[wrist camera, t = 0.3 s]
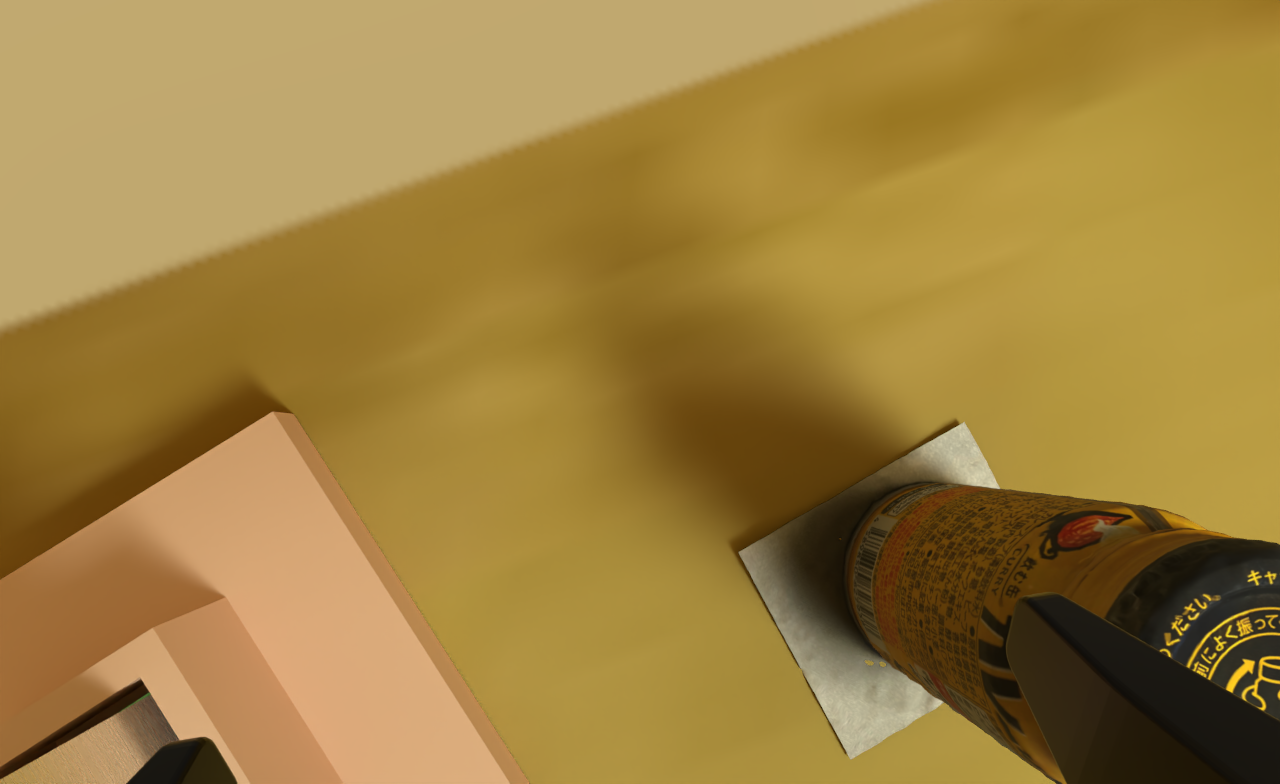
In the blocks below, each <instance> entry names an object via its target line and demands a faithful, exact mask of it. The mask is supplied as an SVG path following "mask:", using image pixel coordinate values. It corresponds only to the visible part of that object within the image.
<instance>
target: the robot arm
mask: <svg viewBox="0 0 1280 784" xmlns="http://www.w3.org/2000/svg"><path fill="white" fill-rule="evenodd" d="M1006 654H1007V659H1008V662H1009V665H1010V667H1011V670H1012V672H1013V674H1014V676H1015V678H1016V680H1017V682H1018V684H1019V686H1020V688H1021V691H1022V693H1023V695H1024V697H1025V699H1026V701H1027V703H1028V705H1029V707H1030V709H1031V711H1032V713H1033V716H1034V718H1035V720H1036V722H1037V724H1038V726H1039V728H1040V730H1041V732H1042V734H1043V736H1044V739H1045V741H1046V743H1047V745H1048V747H1049V749H1050V751H1051V753H1052V755H1053V757H1054V759H1055V761H1056V764H1057V766H1058V768H1059V770H1060V772H1061V774H1062V776H1063V778H1064V780H1065V782H1066V784H1280V720H1278V719H1277V718H1275V717H1273V716H1271V715H1270V714H1268V713H1266V712H1265V711H1263V710H1261V709H1259V708H1258V707H1256V706H1254V705H1252V704H1251V703H1249V702H1247V701H1245V700H1244V699H1242V698H1240V697H1238V696H1237V695H1235V694H1233V693H1232V692H1230V691H1228V690H1226V689H1225V688H1223V687H1221V686H1219V685H1218V684H1216V683H1214V682H1212V681H1211V680H1209V679H1207V678H1205V677H1204V676H1202V675H1200V674H1199V673H1197V672H1195V671H1193V670H1192V669H1190V668H1188V667H1186V666H1185V665H1183V664H1181V663H1179V662H1178V661H1176V660H1174V659H1173V658H1171V657H1169V656H1167V655H1166V654H1164V653H1162V652H1160V651H1159V650H1157V649H1155V648H1153V647H1152V646H1150V645H1148V644H1146V643H1145V642H1143V641H1141V640H1140V639H1138V638H1136V637H1134V636H1133V635H1131V634H1129V633H1127V632H1126V631H1124V630H1122V629H1120V628H1119V627H1117V626H1115V625H1114V624H1112V623H1110V622H1108V621H1107V620H1105V619H1103V618H1101V617H1100V616H1098V615H1096V614H1094V613H1093V612H1091V611H1089V610H1087V609H1086V608H1084V607H1082V606H1081V605H1079V604H1077V603H1075V602H1074V601H1072V600H1070V599H1068V598H1067V597H1065V596H1063V595H1061V594H1058V593H1055V592H1044V593H1038V594H1032V595H1027V596H1023V597H1020V598H1019V600H1018V601H1017V602H1016V604H1015V607H1014V611H1013V616H1012V620H1011V624H1010V629H1009V633H1008V637H1007V642H1006ZM126 784H238V783H237V780H236V778H235V776H234V775H233V773H232V771H231V770H230V768H229V766H228V765H227V763H226V761H225V760H224V758H223V756H222V755H221V753H220V751H219V750H218V748H217V746H216V745H215V743H214V742H213V740H211V739H209V738H207V737H196V738H190V739H184V740H178V741H174V742H170V743H168V744H166V745H164V746H163V747H162V748H160V749H159V750H158V751H157V752H156V753H155V754H154V755H153V756H152V757H151V758H150V759H149V760H148V761H147V762H146V763H145V764H144V765H143V766H142V767H141V768H140V770H139V771H138V772H137V773H136V774H135V775H134V776H133V777H132V778H131V779H130V780H129V781H128V782H127V783H126Z"/></svg>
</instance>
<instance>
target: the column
mask: <svg viewBox="0 0 1280 784" xmlns="http://www.w3.org/2000/svg"><path fill="white" fill-rule="evenodd" d="M178 740H179V738H178V737H177V735H176V734H175V732H174V730H173V729H172V727H171V726H170V724H169V722H168V721H167V719H166V718H165V716H164V714H163V713H162V711H161V710H160V708H159V706H158V705H157V703H156V702H155V700H154V698H153V697H152V695H151V694H150V692H149V693H147V694H146V695H144V696H143V697H141V698H140V699H138V700H137V701H135V702H133V703H132V704H130V705H129V706H127V707H126V708H124V709H123V710H121V711H120V712H118V713H116V714H115V715H113V716H112V717H110V718H108V719H107V720H105V721H103V722H101V723H99V724H98V725H96V726H94V727H92V728H91V729H89V730H87V731H85V732H84V733H82V734H80V735H78V736H77V737H75V738H73V739H71V740H69V741H68V742H66V743H64V744H62V745H61V746H59V747H57V748H55V749H54V750H52V751H50V752H48V753H46V754H45V755H43V756H41V757H39V758H38V759H36V760H34V761H32V762H31V763H29V764H27V765H25V766H23V767H22V768H20V769H18V770H16V771H15V772H13V773H11V774H9V775H8V776H6V777H4V778H2V779H1V780H0V784H126V783H127V782H128V781H129V780H130V779H131V778H132V777H133V776H134V775H135V774H136V773H137V772H138V771H139V770H140V768H141V767H142V766H143V765H144V764H145V763H146V762H147V761H148V760H149V759H150V758H151V757H152V756H153V755H154V754H155V753H156V752H157V751H158V750H159V749H160V748H162V747H163V746H164V745H166V744H168V743H170V742H174V741H178Z"/></svg>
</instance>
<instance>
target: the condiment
mask: <svg viewBox="0 0 1280 784" xmlns="http://www.w3.org/2000/svg"><path fill="white" fill-rule="evenodd" d="M839 538H841V539H842V540H839ZM739 555H740V556H741V558H742V560H743V562H744V564H745V566H746V568H747V570H748V571H749V573H750V574H751V577H752V579H753V581H754V583H755V585H756V587H757V588H758V590H759V592H760V594H761V596H762V598H763V600H764V601H765V603H766V605H767V607H768V609H769V611H770V612H771V614H772V616H773V618H774V620H775V622H776V624H777V626H778V628H779V629H780V631H781V633H782V635H783V636H784V638H785V640H786V642H787V644H788V646H789V648H790V650H791V651H792V653H793V655H794V657H795V659H796V661H797V662H798V664H799V666H800V668H801V669H802V672H803V674H804V676H805V678H806V679H807V681H808V683H809V684H810V686H811V688H812V690H813V692H814V693H815V695H816V697H817V699H818V701H819V703H820V704H821V706H822V708H823V710H824V712H825V714H826V716H827V718H828V719H829V721H830V723H831V724H832V726H833V728H834V730H835V732H836V734H837V736H838V737H839V739H840V741H841V743H842V745H843V747H844V748H845V750H846V752H847V754H848V756H849V758H850V759H853V758H854V757H856V756H858V755H859V754H861V753H862V752H864V751H866V750H868V749H870V748H872V747H874V746H875V745H877V744H878V743H880V742H881V741H883V740H884V739H885V738H887V737H888V736H890V735H892V734H893V733H895V732H897V731H900V730H902V729H904V728H905V727H907V726H908V725H910V724H911V723H912V722H913V721H914V720H916V719H918V718H919V717H921V716H923V715H925V714H926V713H929V712H931V711H932V710H934V709H936V708H937V707H938V706H939V705H941V704H942V703H946V704H947V705H949V706H950V707H951V708H952V709H953V710H954V711H955V712H957V713H958V714H961V715H962V716H964V717H965V718H966V719H968V720H969V721H970V722H972V723H974V724H975V725H976V726H978V727H979V728H980V729H982V730H983V731H984V732H985V733H987V734H989V735H990V736H992V737H993V738H994V739H995V740H996V741H997V742H998V743H1000V744H1001V745H1002V746H1004V747H1006V748H1008V749H1009V750H1010V751H1012V752H1013V753H1015V754H1016V755H1018V756H1019V757H1020V758H1021V759H1022V760H1024V761H1025V762H1027V763H1028V764H1030V765H1031V766H1033V767H1034V768H1036V769H1037V770H1039V771H1041V772H1042V773H1043V774H1044V775H1045V776H1046V777H1047V778H1049V779H1050V780H1052V781H1054V782H1055V783H1056V784H1066V782H1065V780H1064V778H1063V776H1062V774H1061V772H1060V770H1059V768H1058V766H1057V764H1056V761H1055V759H1054V757H1053V755H1052V753H1051V751H1050V749H1049V747H1048V745H1047V743H1046V741H1045V739H1044V736H1043V734H1042V732H1041V730H1040V728H1039V726H1038V724H1037V722H1036V720H1035V718H1034V716H1033V713H1032V711H1031V709H1030V707H1029V705H1028V703H1027V701H1026V699H1025V697H1024V695H1023V693H1022V691H1021V688H1020V686H1019V684H1018V682H1017V680H1016V678H1015V676H1014V674H1013V672H1012V670H1011V667H1010V665H1009V662H1008V659H1007V654H1006V642H1007V637H1008V633H1009V629H1010V624H1011V620H1012V616H1013V611H1014V607H1015V604H1016V602H1017V601H1018V600H1019V598H1020V597H1023V596H1027V595H1032V594H1038V593H1044V592H1055V593H1058V594H1061V595H1063V596H1065V597H1067V598H1068V599H1070V600H1072V601H1074V602H1075V603H1077V604H1079V605H1081V606H1082V607H1084V608H1086V609H1087V610H1089V611H1091V612H1093V613H1094V614H1096V615H1098V616H1100V617H1101V618H1103V619H1105V620H1107V621H1108V622H1110V623H1112V624H1114V625H1115V626H1117V627H1119V628H1120V629H1122V630H1124V631H1126V632H1127V633H1129V634H1131V635H1133V636H1134V637H1136V638H1138V639H1140V640H1141V641H1143V642H1145V643H1146V644H1148V645H1150V646H1152V647H1153V648H1155V649H1157V650H1159V651H1160V652H1162V653H1164V654H1166V655H1167V656H1169V657H1171V658H1173V659H1174V660H1176V661H1178V662H1179V663H1181V664H1183V665H1185V666H1186V667H1188V668H1190V669H1192V670H1193V671H1195V672H1197V673H1199V674H1200V675H1202V676H1204V677H1205V678H1207V679H1209V680H1211V681H1212V682H1214V683H1216V684H1218V685H1219V686H1221V687H1223V688H1225V689H1226V690H1228V691H1230V692H1232V693H1233V694H1235V695H1237V696H1238V697H1240V698H1242V699H1244V700H1245V701H1247V702H1249V703H1251V704H1252V705H1254V706H1256V707H1258V708H1259V709H1261V710H1263V711H1265V712H1266V713H1268V714H1270V715H1271V716H1273V717H1275V718H1277V719H1278V720H1280V545H1279V544H1277V543H1271V542H1266V541H1262V540H1247V539H1241V538H1233V537H1231V536H1228V535H1226V534H1223V533H1218V532H1213V531H1208V530H1207V529H1205V528H1203V527H1201V526H1199V525H1198V524H1196V523H1194V522H1192V521H1190V520H1188V519H1187V518H1185V517H1183V516H1180V515H1177V514H1173V513H1171V512H1169V511H1166V510H1161V509H1156V508H1151V507H1147V506H1144V505H1133V504H1127V503H1123V502H1109V501H1097V500H1091V499H1082V498H1074V497H1070V496H1057V495H1050V494H1043V493H1031V492H1022V491H1015V490H1005V489H1000V488H999V486H998V484H997V482H996V480H995V478H994V476H993V474H992V472H991V470H990V468H989V466H988V464H987V461H986V460H985V458H984V457H983V455H982V453H981V451H980V449H979V447H978V445H977V443H976V442H975V440H974V438H973V436H972V435H971V433H970V431H969V429H968V428H967V426H966V424H965V423H964V422H963V423H962V424H960V425H958V426H957V427H955V428H953V429H951V430H949V431H948V432H946V433H944V434H942V435H940V436H939V437H937V438H935V439H933V440H932V441H930V442H928V443H926V444H924V445H923V446H921V447H919V448H917V449H915V450H914V451H912V452H910V453H909V454H908V455H906V456H904V457H902V458H900V459H898V460H896V461H894V462H893V463H891V464H889V465H887V466H886V467H884V468H882V469H880V470H879V471H877V472H876V473H874V474H872V475H870V476H868V477H867V478H865V479H863V480H862V481H860V482H858V483H857V484H855V485H853V486H851V487H849V488H848V489H846V490H845V491H843V492H842V493H840V494H839V495H837V496H835V497H834V498H832V499H830V500H829V501H827V502H825V503H823V504H821V505H819V506H817V507H815V508H814V509H812V510H810V511H808V512H807V513H805V514H803V515H801V516H799V517H798V518H796V519H794V520H792V521H790V522H789V523H787V524H786V525H784V526H782V527H781V528H779V529H777V530H776V531H774V532H773V533H771V534H770V535H768V536H766V537H764V538H763V539H761V540H759V541H757V542H755V543H753V544H752V545H750V546H748V547H746V548H745V549H743V550H741V551H739ZM865 660H870V661H873V662H874V665H873V666H869V665H867V664H866V663H865V662H864V661H865ZM881 661H882V662H885V663H886V666H885V667H881V666H880V665H879V662H881Z"/></svg>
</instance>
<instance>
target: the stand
mask: <svg viewBox="0 0 1280 784" xmlns="http://www.w3.org/2000/svg"><path fill="white" fill-rule="evenodd" d="M149 692H150V694H151V695H152V697H153V698H154V700H155V702H156V703H157V705H158V706H159V708H160V710H161V711H162V713H163V714H164V716H165V718H166V719H167V721H168V722H169V724H170V726H171V727H172V729H173V730H174V732H175V734H176V735H177V737H178V738H179V740H184V739H190V738H196V737H207V738H209V739H211V740H213V742H214V743H215V745H216V746H217V748H218V750H219V751H220V753H221V755H222V756H223V758H224V760H225V761H226V763H227V765H228V766H229V768H230V770H231V771H232V773H233V775H234V776H235V778H236V780H237V783H238V784H530V783H529V782H528V780H527V778H526V777H525V775H524V774H523V772H522V771H521V769H520V768H519V766H518V764H517V763H516V761H515V760H514V758H513V757H512V755H511V753H510V752H509V750H508V749H507V747H506V746H505V744H504V742H503V741H502V739H501V738H500V736H499V735H498V733H497V732H496V730H495V728H494V727H493V725H492V724H491V722H490V721H489V719H488V717H487V716H486V714H485V713H484V711H483V710H482V708H481V706H480V705H479V703H478V702H477V700H476V699H475V697H474V696H473V694H472V692H471V691H470V689H469V688H468V686H467V685H466V683H465V681H464V680H463V678H462V677H461V675H460V674H459V672H458V670H457V669H456V667H455V666H454V664H453V663H452V661H451V660H450V658H449V656H448V655H447V653H446V652H445V650H444V649H443V647H442V645H441V644H440V642H439V641H438V639H437V638H436V636H435V635H434V633H433V631H432V630H431V628H430V627H429V625H428V624H427V622H426V620H425V619H424V617H423V616H422V614H421V613H420V611H419V609H418V608H417V606H416V605H415V603H414V602H413V600H412V599H411V597H410V595H409V594H408V592H407V591H406V589H405V588H404V586H403V584H402V583H401V581H400V580H399V578H398V577H397V575H396V573H395V572H394V570H393V569H392V567H391V566H390V564H389V563H388V561H387V559H386V558H385V556H384V555H383V553H382V552H381V550H380V548H379V547H378V545H377V544H376V542H375V541H374V539H373V537H372V536H371V534H370V533H369V531H368V530H367V528H366V527H365V525H364V523H363V522H362V520H361V519H360V517H359V516H358V514H357V512H356V511H355V509H354V508H353V506H352V505H351V503H350V501H349V500H348V498H347V497H346V495H345V494H344V492H343V491H342V489H341V487H340V486H339V484H338V483H337V481H336V480H335V478H334V476H333V475H332V473H331V472H330V470H329V469H328V467H327V466H326V464H325V462H324V461H323V459H322V458H321V456H320V455H319V453H318V451H317V450H316V448H315V447H314V445H313V444H312V442H311V440H310V439H309V437H308V436H307V434H306V433H305V431H304V430H303V428H302V426H301V425H300V423H299V422H298V420H297V419H296V417H295V415H294V414H291V413H282V412H271V413H269V414H268V415H266V416H265V417H263V418H261V419H260V420H258V421H256V422H255V423H253V424H252V425H250V426H248V427H247V428H245V429H244V430H242V431H240V432H239V433H237V434H235V435H234V436H232V437H231V438H229V439H227V440H226V441H224V442H222V443H221V444H219V445H218V446H216V447H214V448H213V449H211V450H210V451H208V452H206V453H205V454H203V455H201V456H200V457H198V458H197V459H195V460H193V461H192V462H190V463H188V464H187V465H185V466H184V467H182V468H180V469H179V470H177V471H175V472H174V473H172V474H171V475H169V476H167V477H166V478H164V479H163V480H161V481H159V482H158V483H156V484H154V485H153V486H151V487H150V488H148V489H146V490H145V491H143V492H141V493H140V494H138V495H137V496H135V497H133V498H132V499H130V500H129V501H127V502H125V503H124V504H122V505H120V506H119V507H117V508H116V509H114V510H112V511H111V512H109V513H107V514H106V515H104V516H103V517H101V518H99V519H98V520H96V521H95V522H93V523H91V524H90V525H88V526H86V527H85V528H83V529H82V530H80V531H78V532H77V533H75V534H73V535H72V536H70V537H69V538H67V539H65V540H64V541H62V542H61V543H59V544H57V545H56V546H54V547H52V548H51V549H49V550H48V551H46V552H44V553H43V554H41V555H39V556H38V557H36V558H35V559H33V560H31V561H30V562H28V563H26V564H25V565H23V566H22V567H20V568H18V569H17V570H15V571H14V572H12V573H10V574H9V575H7V576H5V577H4V578H2V579H1V580H0V780H1V779H2V778H4V777H6V776H8V775H9V774H11V773H13V772H15V771H16V770H18V769H20V768H22V767H23V766H25V765H27V764H29V763H31V762H32V761H34V760H36V759H38V758H39V757H41V756H43V755H45V754H46V753H48V752H50V751H52V750H54V749H55V748H57V747H59V746H61V745H62V744H64V743H66V742H68V741H69V740H71V739H73V738H75V737H77V736H78V735H80V734H82V733H84V732H85V731H87V730H89V729H91V728H92V727H94V726H96V725H98V724H99V723H101V722H103V721H105V720H107V719H108V718H110V717H112V716H113V715H115V714H116V713H118V712H120V711H121V710H123V709H124V708H126V707H127V706H129V705H130V704H132V703H133V702H135V701H137V700H138V699H140V698H141V697H143V696H144V695H146V694H147V693H149Z"/></svg>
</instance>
